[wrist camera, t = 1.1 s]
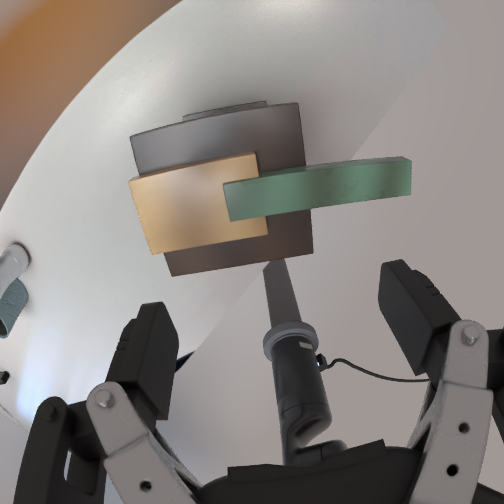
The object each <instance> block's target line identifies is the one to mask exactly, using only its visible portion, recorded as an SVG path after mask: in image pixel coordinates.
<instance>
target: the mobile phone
mask: <svg viewBox="0 0 504 504" xmlns="http://www.w3.org/2000/svg"><path fill="white" fill-rule="evenodd" d="M8 378H9V374H8V373H7V372H1V373H0V385H2V384H6V382H7V380H8Z"/></svg>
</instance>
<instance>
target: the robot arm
mask: <svg viewBox="0 0 504 504" xmlns="http://www.w3.org/2000/svg"><path fill="white" fill-rule="evenodd" d="M378 302H379V307H380V310H381V312H382V314H383V316H384V318H385V319H386V321H387V323H388V325H389V327H390V328H391V330H392V332H393V334H394V336H395V338H396V339H397V341H398V343H399V345H400V347H401V349H402V351H403V352H404V354H405V357H406V358H407V360H408V362H409V364H410V366H411V368H412V370H413V372H414V374H415V376H417V375H421V374H423V373H427V375H428V377H429V379H423V380H422V379H421V380H405V379H395V378H390V377H385V376H381V375H378V374H375V373H372V372H370V371H367V370H365V369H363V368H361V367H358V366H356V365H354V364H352V363H350V362H349V361H347V360H345V359H341V358H339V359H335V360H333V362H332V363H331V364H330V365H327V362H326V359H325V357H324V356H323V355H322V354H321V353H320V354H318V355H317V356H316V355H315V351H314V347H313V342H312V340H311V338H310V337H308V336H307V335H304V334H301V333H291V334H286V335H283V336H281V337H279V338H277V339H276V340H275V341H274V342H273V343H272V345H271V347H270V355H271V360H272V367H273V376H274V383H275V390H276V398H277V405H278V413H279V420H280V433H281V442H282V456H283V465H272V464H261V465H250V466H236V467H228V475H227V476H223V477H221V478H218V479H215V480H213V481H211V482H209V483H207V484H206V485H204V486H203V485H202V484H201V483H200V482H199V481H198V480H197V478H196V477H195V476H194V475H193V474H192V473H191V472H190V471H189V470H188V469H187V468H186V467H185V465H184V464H183V463H182V462H181V460H180V459H179V458H178V457H177V455H176V454H175V452H174V451H173V450H172V448H171V447H170V446H169V444H168V443H167V441H166V440H165V438H164V437H163V436H162V434H161V433H160V431H159V430H158V429H157V428H156V420H168V413H169V406H170V398H171V391H172V386H173V379H174V373H175V367H176V360H177V354H178V348H179V340H178V334H177V331H176V329H175V327H174V325H173V322H172V320H171V318H170V316H169V313H168V311H167V309H166V306H165V305H164V303H163V302H154V303H147V304H142V305H141V307H140V310H139V313H138V315H137V318H136V319H131V321H130V322H129V323H128V324H127V325H126V327H125V328H124V329H123V332H122V334H121V337H120V342H118V345H117V348H116V349H117V351H115V353H114V356H113V359H112V362H111V365H110V368H109V371H108V374H107V377H106V380H105V382H104V383H101V384H99V385H97V386H96V387H95V388H94V389H93V390H92V391H91V392H90V393H89V395H88V397H87V400H85V401H81V402H78V403H74V404H70V405H67V404H66V402H65V401H64V400H63V399H61V398H60V397H56V396H54V397H50V398H47V399H46V400H44V401H43V402H42V403H41V404H40V406H39V407H38V409H37V412H36V415H35V418H34V421H33V424H32V427H31V430H30V434H29V437H28V441H27V444H26V448H25V451H24V455H23V459H22V463H21V467H20V472H19V476H18V481H17V486H16V491H15V496H14V502H13V504H104V493H105V483H106V474H107V473H108V475H109V477H110V479H111V481H112V483H113V485H114V486H115V488H116V490H117V492H118V494H119V496H120V497H121V499H122V501H123V502H124V504H504V494H502V493H500V492H498V491H495V490H493V489H490V488H489V487H486V486H484V485H482V484H480V483H478V478H479V475H480V471H481V467H482V463H483V459H484V454H485V449H486V445H487V439H488V434H489V428H490V421H491V414H492V416H493V418H494V420H495V423H496V425H497V427H498V430H499V432H500V435H501V437H502V440H503V442H504V327H503V329H498V330H485V328H484V327H483V326H482V325H480V324H479V323H477V322H475V321H472V320H462V319H461V318H460V317H459V315H458V314H457V313H456V312H455V310H454V309H453V308H452V306H451V305H450V304H449V303H448V301H447V300H446V299H445V298H444V296H443V295H442V294H440V291H439V290H438V289H437V288H436V287H434V284H433V283H432V282H431V281H430V279H428V277H427V276H425V275H424V274H422V273H421V272H419V271H417V270H411V269H410V267H409V266H408V265H407V264H406V263H405V262H404V261H403V260H402V259H399V260H395V261H390V262H385V263H383V264H382V266H381V274H380V283H379V293H378ZM336 362H343V363H346V364H347V365H349V366H351V367H352V368H355V369H357V370H360V371H362V372H364V373H367V374H369V375H372V376H375V377H378V378H381V379H386V380H391V381H398V382H426V381H429V383H428V386H427V391H426V394H425V397H424V401H423V405H422V408H421V412H420V415H419V418H418V421H417V424H416V427H415V429H414V431H413V433H412V435H411V437H410V440H409V442H408V444H407V446H406V448H405V447H393V446H388V447H385V443H384V440H383V439H381V440H378V441H374V442H371V443H368V444H364V445H360V446H357V447H353V448H350V449H348V447H347V446H346V444H345V443H344V442H343V441H341V440H331V441H327V442H323V443H319V444H316V445H312V446H308V447H306V445H307V444H308V443H309V442H310V441H311V440H312V439H313V438H315V437H316V436H318V435H319V434H321V433H322V432H323V431H325V430H326V429H327V428H328V427H329V426H330V424H331V422H332V415H331V411H330V408H329V404H328V400H327V396H326V392H325V388H324V385H323V381H322V377H321V373H320V372H321V371H323V370H325V369H329V368H331V367H332V366H333V365H334V364H335V363H336ZM68 451H70V452H71V458H70V463H69V469H68V474H67V480H65V478H64V467H65V462H66V458H67V453H68Z"/></svg>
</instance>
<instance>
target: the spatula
mask: <svg viewBox="0 0 504 504" xmlns="http://www.w3.org/2000/svg"><path fill="white" fill-rule="evenodd" d="M411 163H412V161H411V160H409V159H407V158H404V157H386V158H375V159H374V158H373V159H362V160H351V161H342V162H333V163H324V164H316V165H308V166H300V167H293V168H286V169H279V170H272V171H266V172H260V173H259V172H258V166H257V160H256V154H255V152H254V151H251V152H246V153H240V154H234V155H229V156H223V157H218V158H213V159H208V160H203V161H198V162H194V163H189V164H184V165H180V166H176V167H171V168H167V169H163V170H159V171H155V172H151V173H147V174H143V175H139V176H136V177H133V178H132V179H131V180H130V181H128V183H129V187H130V190H131V193H132V197H133V200H134V203H135V206H136V209H137V213H138V216H139V219H140V222H141V225H142V228H143V231H144V234H145V237H146V239H147V242H148V245H149V248H150V251H151V254H152V255H153V254H159V253H164V252H170V251H175V250H181V249H187V248H192V247H198V246H204V245H209V244H215V243H221V242H227V241H232V240H238V239H244V238H250V237H256V236H262V235H268V229H267V223H266V216H268V215H274V214H280V213H286V212H293V211H299V210H306V209H312V208H319V207H325V206H332V205H339V204H346V203H353V202H360V201H368V200H375V199H383V198H391V197H398V196H407V195H411V169H412V168H411V167H412V166H411V165H412V164H411Z"/></svg>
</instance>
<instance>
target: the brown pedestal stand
mask: <svg viewBox="0 0 504 504" xmlns="http://www.w3.org/2000/svg"><path fill="white" fill-rule="evenodd" d="M130 141H131V145H132V149H133V153H134V157H135V161H136V165H137V168H138V172H139V175H143V174H147V173H151V172H155V171H159V170H163V169H167V168H171V167H176V166H180V165H184V164H189V163H194V162H198V161H203V160H208V159H213V158H218V157H223V156H229V155H234V154H240V153H246V152H251V151H254V152H255V154H256V160H257V166H258V172H259V173H260V172H266V171H272V170H279V169H286V168H293V167H300V166H306V161H305V152H304V143H303V135H302V128H301V120H300V113H299V106H298V103H284V104H276V105H268V106H266V101H261V102H255V103H248V104H242V105H236V106H230V107H225V108H219V109H214V110H209V111H205V112H200V113H196V114H191V115H187V116H183V122H178V123H174V124H170V125H167V126H163V127H159V128H155V129H152V130H148V131H145V132H141V133H138V134H135V135H133V136H130ZM266 223H267V229H268V235H262V236H256V237H250V238H244V239H238V240H232V241H227V242H221V243H215V244H209V245H204V246H198V247H192V248H187V249H181V250H175V251H170V252H164V256H165V259H166V262H167V265H168V267H169V270H170V273H171V276H172V277H174V276H180V275H186V274H192V273H199V272H205V271H211V270H217V269H223V268H229V267H236V266H242V265H248V264H254V263H260V262H266V261H272V260H278V259H284V258H289V257H295V256H301V255H307V254H313V237H312V224H311V211H310V209H306V210H299V211H293V212H286V213H280V214H274V215H268V216H266Z"/></svg>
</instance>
